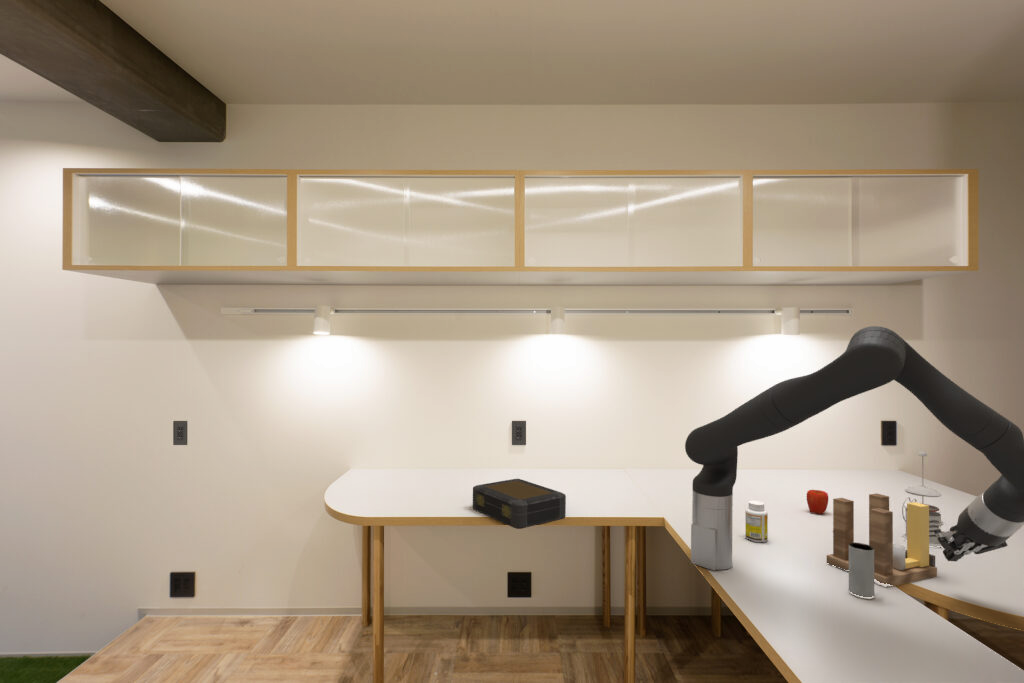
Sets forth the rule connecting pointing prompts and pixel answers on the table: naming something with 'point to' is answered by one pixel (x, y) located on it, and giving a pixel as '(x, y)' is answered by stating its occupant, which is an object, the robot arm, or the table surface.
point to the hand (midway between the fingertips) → (949, 556)
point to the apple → (817, 501)
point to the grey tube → (861, 569)
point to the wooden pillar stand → (873, 541)
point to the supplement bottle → (756, 522)
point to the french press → (933, 515)
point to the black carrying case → (519, 503)
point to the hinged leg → (914, 539)
